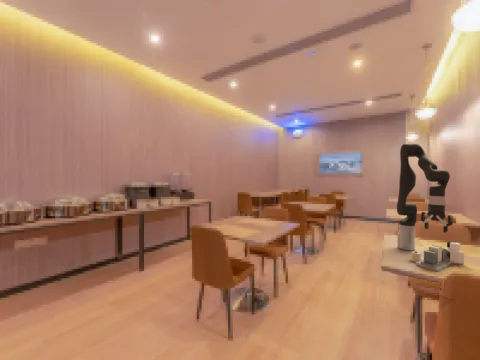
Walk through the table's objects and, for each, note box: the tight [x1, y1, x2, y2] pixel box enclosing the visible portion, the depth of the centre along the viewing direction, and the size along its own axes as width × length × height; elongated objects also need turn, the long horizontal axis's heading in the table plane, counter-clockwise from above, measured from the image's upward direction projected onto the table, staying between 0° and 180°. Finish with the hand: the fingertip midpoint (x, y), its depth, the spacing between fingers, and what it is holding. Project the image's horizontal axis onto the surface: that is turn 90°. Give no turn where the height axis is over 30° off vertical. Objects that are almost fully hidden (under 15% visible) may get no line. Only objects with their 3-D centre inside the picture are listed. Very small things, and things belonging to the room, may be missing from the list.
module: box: [428, 244, 443, 262], centre depth 133 cm, size 4×5×8 cm
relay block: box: [410, 250, 422, 263], centre depth 139 cm, size 4×4×6 cm
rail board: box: [415, 247, 455, 272], centre depth 133 cm, size 10×22×9 cm, turn 118°
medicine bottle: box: [445, 240, 465, 265], centre depth 138 cm, size 7×7×12 cm
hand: (435, 230), depth 133 cm, fingers open, 8 cm apart
